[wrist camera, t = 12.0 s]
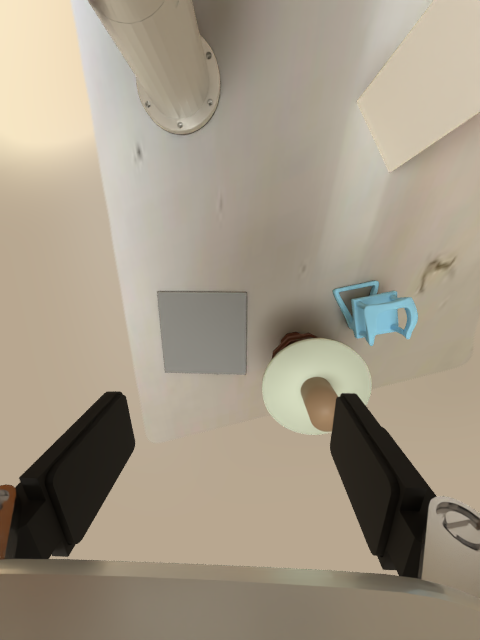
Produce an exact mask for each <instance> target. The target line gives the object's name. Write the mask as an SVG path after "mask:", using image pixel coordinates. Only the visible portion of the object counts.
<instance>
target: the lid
mask: <svg viewBox="0 0 480 640" xmlns="http://www.w3.org/2000/svg"><path fill="white" fill-rule="evenodd" d="M371 387H372V383H371V376H370V372H369V369H368V367H367V365H366V364H365V362H364V361H363V359H362V358H361V357H360V356H359V355H358V354H357V353H356V352H355V351H354V350H353V349H351V348H350V347H348V346H347V345H345V344H343V343H341V342H338V341H335V340H331V339H326V338H311V339H305V340H301V341H298V342H295V343H293V344H291V345H289V346H287V347H285V348H284V349H283V350H281V351H280V352H279V353H278V354H277V355H276V356H275V357H274V358H273V359H272V360H271V362H270V363H269V365H268V366H267V368H266V371H265V373H264V377H263V382H262V393H263V399H264V403H265V406H266V408H267V410H268V412H269V413H270V414H271V416H272V417H273V418H274V419H275V420H276V421H277V422H278V423H280V424H281V425H282V426H284V427H285V428H288V429H290V430H292V431H295V432H298V433H302V434H310V435H319V434H326V433H330V432H332V427H333V419H334V411H335V403H336V398H337V397H340V395H341V394H342V393H355V394H357V395H358V396H359V398H360V399H361V400H362V402H363V403H364V404H365V406H366V405H367V403H368V400H369V398H370V394H371Z"/></svg>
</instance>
